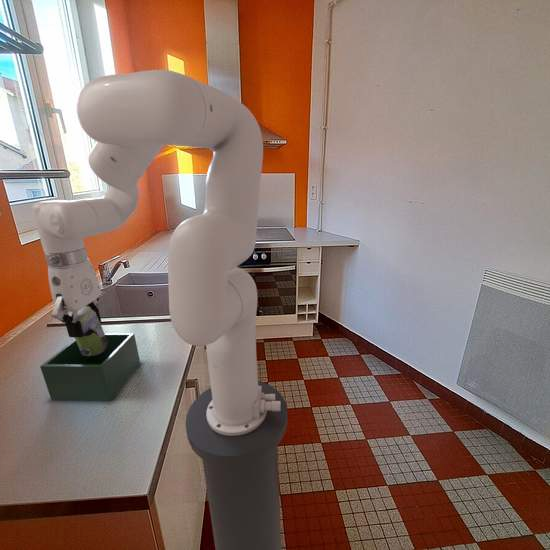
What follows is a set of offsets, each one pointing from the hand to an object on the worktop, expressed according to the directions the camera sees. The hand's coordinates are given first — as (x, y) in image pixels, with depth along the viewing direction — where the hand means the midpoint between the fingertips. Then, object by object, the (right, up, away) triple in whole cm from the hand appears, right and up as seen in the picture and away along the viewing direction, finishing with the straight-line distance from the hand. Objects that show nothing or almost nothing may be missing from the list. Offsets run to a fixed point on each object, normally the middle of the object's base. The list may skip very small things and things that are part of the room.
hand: (86, 328), depth 73 cm
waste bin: (0, -14, +5) cm, 15 cm away
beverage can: (0, -7, +2) cm, 7 cm away
